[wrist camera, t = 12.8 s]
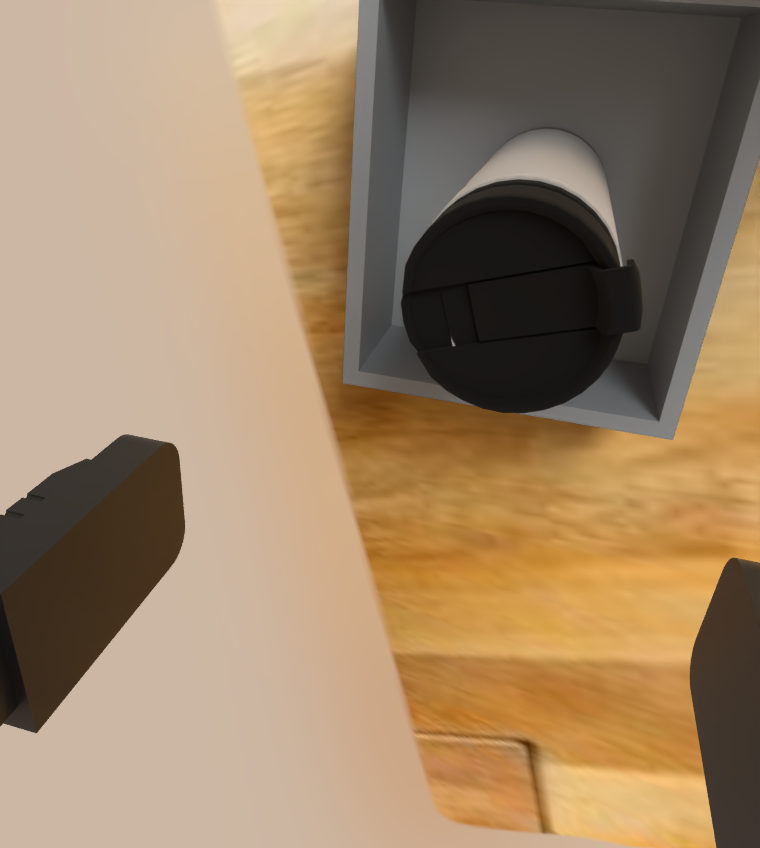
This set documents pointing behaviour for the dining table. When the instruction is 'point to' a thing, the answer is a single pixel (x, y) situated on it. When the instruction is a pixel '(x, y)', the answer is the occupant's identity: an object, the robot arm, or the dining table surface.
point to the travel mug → (523, 279)
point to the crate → (582, 115)
